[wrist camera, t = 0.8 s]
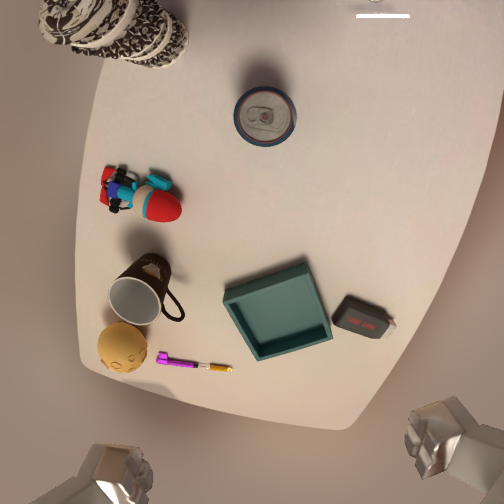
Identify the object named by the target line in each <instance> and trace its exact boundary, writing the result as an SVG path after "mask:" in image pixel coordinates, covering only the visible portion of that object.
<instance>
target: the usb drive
mask: <svg viewBox="0 0 504 504" xmlns="http://www.w3.org/2000/svg"><path fill="white" fill-rule="evenodd" d="M332 322H333V324H334V325H335V326H337V327H340V328H343V329H346V330H348V331H351V332H354V333H357V334H360V335H363V336H366V337H369V338H373V339H379V338H381V337H383V338H386V339H387V338H388V337H389V335H390V334H391V333H392V332H393V330H394V329H395V328H396V324H395V322H394V321H392V320H390V319H388V318H387V316H386V314H385V313H384V312H383V311H381V310H379V309H376V308H374V307H371V306H369V305H366V304H364V303H361V302H359V301H356V300H354V299H351V298H349V297H346V298H345V299H344V301H343V302H342V304H341V305H340V307H339V308H338V310H337V311H336V313H335V314H334V316H333V317H332Z"/></svg>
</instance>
